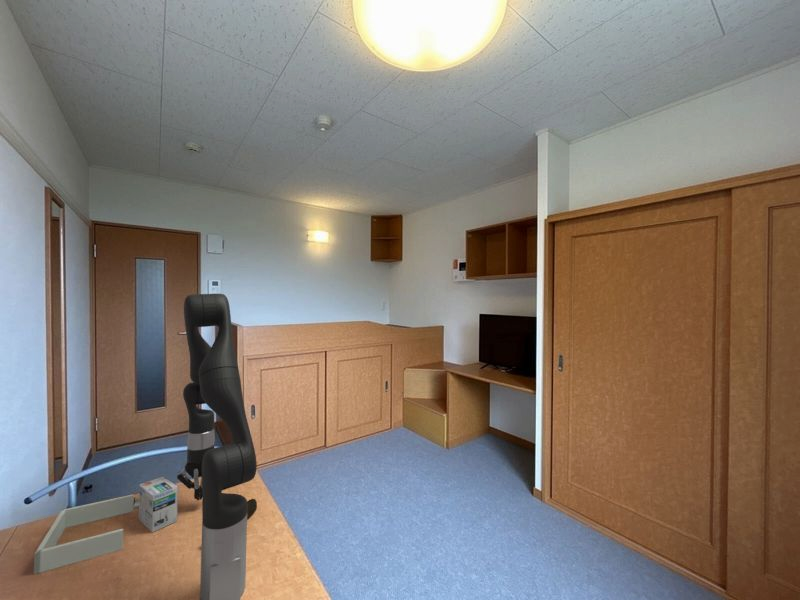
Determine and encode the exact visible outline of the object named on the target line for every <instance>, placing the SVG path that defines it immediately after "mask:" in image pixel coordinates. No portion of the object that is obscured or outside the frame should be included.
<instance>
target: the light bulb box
mask: <svg viewBox="0 0 800 600" xmlns="http://www.w3.org/2000/svg"><path fill="white" fill-rule="evenodd" d="M178 490H179V486H178V485H177V484H176V483H174V482H172V481H170V480H169V479H168V478H166V477H165V476H161V477H157V478H154V479H151V480H149V481H145V482H142V483H140V484H139V496H138V497H139V508H138V520H139V521H140V522H141V523H142V524H143V525H144V526H145V527H146V528H147V529H148V530H149V531H150V532H151V533H154V532H156V531H159V530H161V529H164V528H165V527H168V526H169V525H172V524H174V523H176V522H178V499H179V498H178V497H179V496H178V495H179V491H178Z"/></svg>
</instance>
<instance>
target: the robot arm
mask: <svg viewBox="0 0 800 600" xmlns="http://www.w3.org/2000/svg"><path fill="white" fill-rule="evenodd" d="M230 309H231V308H230V303H229V299H228V297H227V296H226V295H225V294H224V293H195V294H189V295H187V296H186V297H185V298H184V302H183V316H184V328H185V333H186V334H185V335H186V340H187V341H186V342H187V345H188V351H189V376H190V380H191V381H192V382H189V383H187V384H186V385H185V386H184V388H183V392H182V396H183V401H184V403H185V405H186V408H187V414H188V435H187V442H186V444H187V445H186V446H187V447H186V449H187V450H186V452H187V453H186V463H185V465H184V469H182V470H181V471H178V472H177V475H176V478H177V479H178V481H180V483H182V484H183V485H184V486H185V487H186V488H187V489H188V490H190V489H194V492H193V498H194V499H195V500H196V501H200V500H201V502H202V503H201V506H202V507H201V508H202V511H201V512H202V513H201V515H202V516H201V517H202V518H201V519H202V521H201V523H202V524H201V543H200V544H201V545H200V546H201V547H200V548H201V550H200V551H201V552H200V553H201V555H200V578H199V579H200V583H199V584H200V585H199V586H200V587H199V589H200V590H199V600H241V597H242V595H243V594H244V592H245V589H246V574H247V572H246V571H247V570H246V569H247V567H246V566H247V537H248V535H247V534H248V533H247V532H248V531H247V530H248V520H247V510H248V503H247V501H248V500H247V498H246V497H245V496H244V495H242V494H238V493H223V492H222V491H224V490H227V489H231V488H234V487H237V486H240V485H242V484H246V483H248V482H251V481H252V480H253V479H254V478H255V476H256V474H257V470H258V469H257V468H258V465H257V464H258V463H257V456H256V449H255V446H254V443H253V438H252V434H251V431H250V430H251V429H250V427H249V423H248V419H247V414H246V413H247V412H246V409H245V403H244V396H243V390H242V380H241V375H240V369H239V365H238V359H237V356H236V350H235V345H234V339H233V337H234V336H233V329H232V328H233V326H232V318H231V317H232V316H231V310H230ZM205 327H207V328H208V327H218V331H217V335H216V338H215V339H214V342H213V344H212V345H210V344H209V343H208V342H207V341H206V340H205V339H204V338H203V336H202V335H201V333H200V331H199V328H205ZM205 404H206V405H207V406H208V408H210V409H203V408H199V407H198V406H197V405H205ZM215 414H216V415H217V416H218V417H219V418H220V419H221V420H222V421H223V423H224V424H225V425H226V427H227V428H228V430H229V432H230V436H231V438H232V441H233V443H229V444H224V445H221V446H217V447H215V441H216V438H215V437H216V436H215ZM187 475H189V476H190V477H191V478H193V481H192V480H191V479H190V478H189V477H188V476H187ZM199 481H200V482H199Z"/></svg>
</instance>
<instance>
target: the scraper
mask: <svg viewBox="0 0 800 600" xmlns="http://www.w3.org/2000/svg"><path fill="white" fill-rule="evenodd" d="M136 509H139V496H134V503H133V510H136Z"/></svg>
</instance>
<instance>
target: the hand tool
mask: <svg viewBox="0 0 800 600" xmlns="http://www.w3.org/2000/svg"><path fill="white" fill-rule="evenodd" d="M247 503H248V510H247V521H248V520H250V518H252V516H253V515H254V514H255V513H256V511H257V509H258V502H257V499H255V498H250V499H248V500H247Z"/></svg>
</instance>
